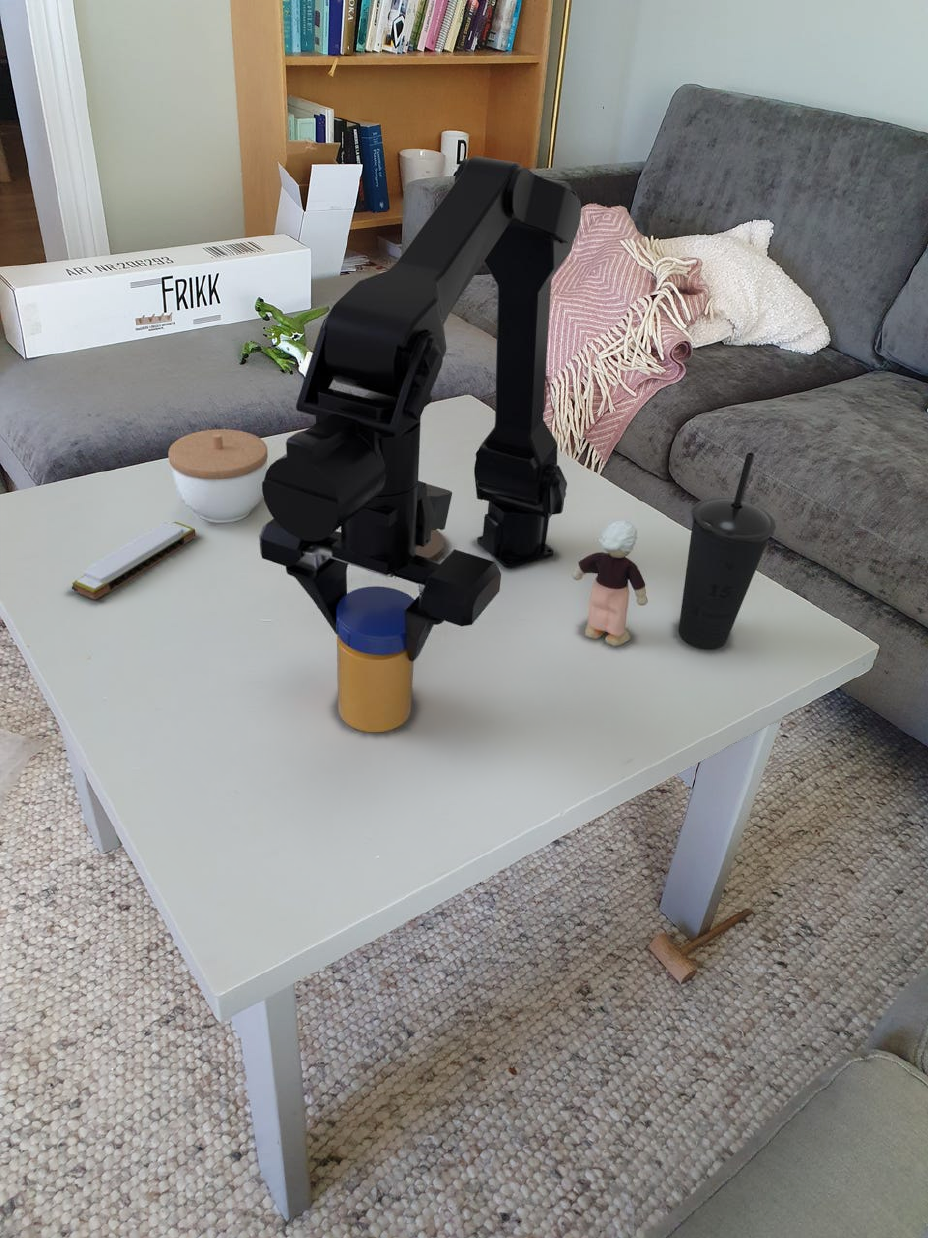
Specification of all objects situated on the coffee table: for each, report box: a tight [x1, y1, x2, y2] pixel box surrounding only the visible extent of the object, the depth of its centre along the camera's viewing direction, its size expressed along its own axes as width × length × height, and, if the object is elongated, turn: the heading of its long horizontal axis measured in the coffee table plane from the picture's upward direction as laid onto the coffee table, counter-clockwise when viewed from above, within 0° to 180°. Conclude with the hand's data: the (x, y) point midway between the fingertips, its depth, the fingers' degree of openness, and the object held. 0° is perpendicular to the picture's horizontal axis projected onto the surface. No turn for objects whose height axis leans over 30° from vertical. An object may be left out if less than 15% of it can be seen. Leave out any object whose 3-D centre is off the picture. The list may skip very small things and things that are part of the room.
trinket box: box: [167, 428, 269, 524], centre depth 104 cm, size 11×11×9 cm
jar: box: [336, 634, 415, 733], centre depth 77 cm, size 6×6×10 cm
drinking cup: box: [677, 452, 777, 651], centre depth 86 cm, size 8×8×20 cm
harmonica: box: [71, 521, 197, 600], centre depth 96 cm, size 15×3×2 cm, turn 152°
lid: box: [335, 585, 415, 655], centre depth 75 cm, size 7×7×2 cm
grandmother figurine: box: [571, 520, 648, 647], centre depth 88 cm, size 8×4×13 cm, turn 71°
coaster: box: [415, 529, 445, 561], centre depth 102 cm, size 9×9×1 cm
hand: (377, 645), depth 76 cm, fingers closed on lid, 6 cm apart
